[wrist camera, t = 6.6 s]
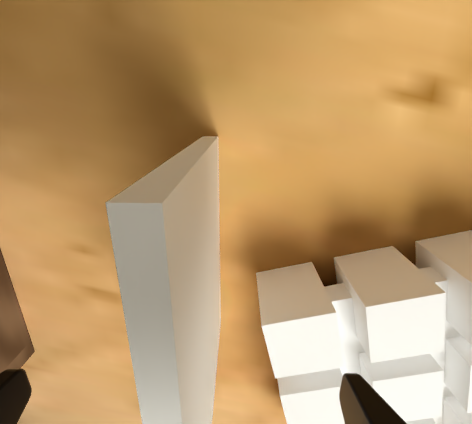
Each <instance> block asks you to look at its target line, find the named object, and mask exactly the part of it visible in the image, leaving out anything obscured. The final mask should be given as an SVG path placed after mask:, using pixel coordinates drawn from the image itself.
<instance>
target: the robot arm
mask: <svg viewBox="0 0 472 424" xmlns="http://www.w3.org/2000/svg"><path fill="white" fill-rule="evenodd" d="M30 396H31V385H30V383H29V380H28V377H27V374H26V372H25V370H24V369H16V368H11V369H6V370H4V371H3V372H1V373H0V424H17V422H18V420H19V418H20V416H21V414H22V413H23V411H24V409H25V407H26V405H27V403H28V401H29V398H30ZM339 400H340V405H341V409H342V413H343V418H344V422H345V424H407V423H406V422H405V421H404V420H403V419H402V418H401V417H400V416H399V415H398V414H397V413H396V412H395V411H394V410H393V409H392V407H391V406H390V405H389V404H388V403H387V402H386V401H385V400H384V399H383V398H382V397H381V396H380V395H379V394H378V393H377V392H376V391H375V390H374V389H373V388H372V387H371V386H370V384H369V383H368V382H367V381H366V380H365V379H364V378H363V377H362V376H361V375H359V374H357V373H345V374H344V375H343V377H342V382H341V387H340V392H339Z"/></svg>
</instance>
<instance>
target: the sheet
mask: <svg viewBox="0 0 472 424" xmlns="http://www.w3.org/2000/svg"><path fill="white" fill-rule="evenodd" d="M106 209H107V215H108V221H109V227H110V233H111V239H112V245H113V251H114V257H115V263H116V269H117V275H118V281H119V287H120V293H121V299H122V305H123V311H124V317H125V323H126V329H127V335H128V340H129V346H130V352H131V358H132V364H133V370H134V376H135V382H136V388H137V394H138V400H139V406H140V412H141V418H142V424H212V416H213V405H214V393H215V382H216V371H217V359H218V348H219V337H220V325H221V291H220V217H219V143H218V136H202V137H201V138H199V139H198V140H197V141H195V142H194V143H192V144H191V145H189V146H188V147H186V148H185V149H183V150H182V151H180V152H179V153H178V154H176V155H175V156H173V157H172V158H170V159H169V160H167V161H166V162H164V163H163V164H161V165H160V166H158V167H157V168H156V169H154V170H153V171H151V172H150V173H148V174H147V175H145V176H144V177H142V178H141V179H139V180H138V181H137V182H135V183H134V184H132V185H131V186H129V187H128V188H126V189H125V190H123V191H122V192H120V193H119V194H117V195H116V196H115V197H113V198H112V199H110V200H109V201H107V202H106Z"/></svg>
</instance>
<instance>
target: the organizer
mask: <svg viewBox="0 0 472 424" xmlns="http://www.w3.org/2000/svg"><path fill="white" fill-rule="evenodd" d="M415 245H416V266H415V265H414V264H413V263H412V262H411V261H409V260H408V259H407V258H406V257H405V256H404V255H403V254H401V253H400V252H399V251H398V250H397V249H396V248H395V247H393V246H389V247H384V248H379V249H374V250H369V251H364V252H359V253H354V254H348V255H343V256H338V257H334V264H335V272H336V280H337V284H336V285H330V286H325V287H324V286H323V284H322V282H321V279H320V277H319V275H318V273H317V271H316V269H315V267H314V265H313V263H312V262H308V263H303V264H298V265H293V266H288V267H283V268H278V269H273V270H268V271H263V272H258V273H256V277H257V287H258V297H259V307H260V316H261V326H262V330H263V334H264V337H265V341H266V345H267V349H268V353H269V356H270V360H271V364H272V368H273V372H274V376H275V378H277V380H278V387H279V394H280V399H281V402H282V406H283V410H284V414H285V418H286V421H287V424H345V422H344V418H343V413H342V409H341V405H340V400H339V392H340V387H341V382H342V377H343V375H344V374H345V373H357V374H359V375H361V376H362V377H363V378H364V379H365V380H366V381H367V382H368V383H369V384H370V386H371V387H372V388H373V389H374V390H375V391H376V392H377V393H378V394H379V395H380V396H381V397H382V398H383V399H384V400H385V401H386V402H387V403H388V404H389V405H390V406H391V407H392V409H393V410H394V411H395V412H396V413H397V414H398V415H399V416H400V417H401V418H402V419H403V420H404V421H405V422H406V423H407V424H472V230H470V231H465V232H460V233H455V234H449V235H444V236H439V237H434V238H429V239H424V240H419V241H415Z"/></svg>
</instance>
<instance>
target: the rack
mask: <svg viewBox="0 0 472 424" xmlns="http://www.w3.org/2000/svg"><path fill="white" fill-rule="evenodd" d="M34 352H35V351H34V348H33V345H32V342H31V339H30V336H29V333H28V330H27V328H26V325H25V322H24V319H23V316H22V313H21V310H20V307H19V304H18V301H17V298H16V295H15V292H14V289H13V286H12V283H11V280H10V277H9V274H8V271H7V268H6V265H5V262H4V259H3V256H2V253H1V250H0V373H1V372H3V371H4V370H6V369H11V368H16V369H20V368H21V367H22V366H23V365H24V363H25V362H26V361H27V360H28V359H29V357H30V356H31V355H32V354H33V353H34Z"/></svg>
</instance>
